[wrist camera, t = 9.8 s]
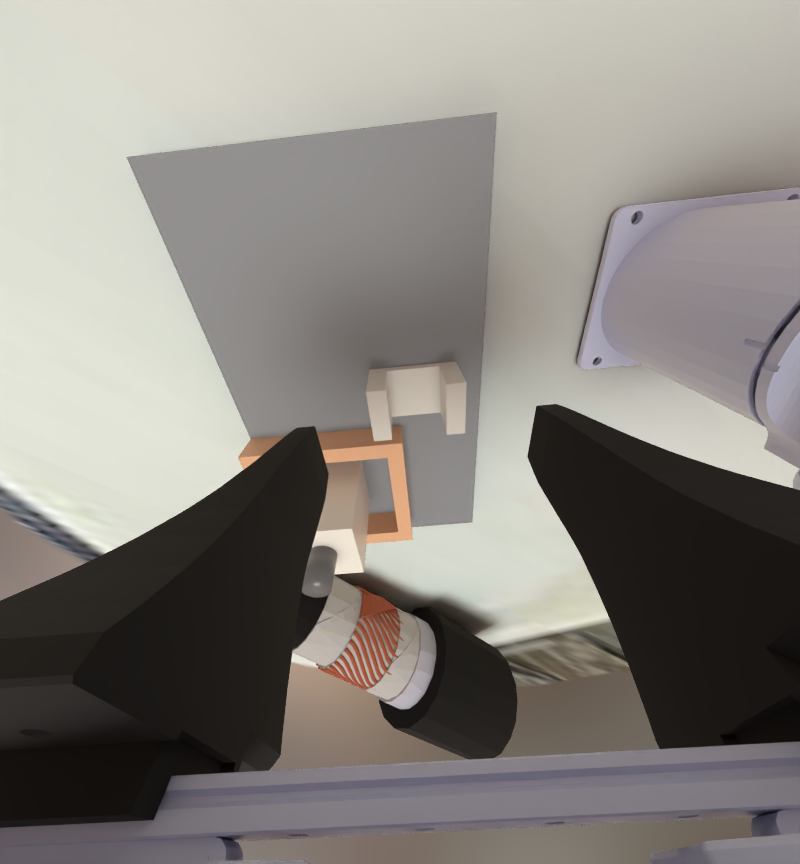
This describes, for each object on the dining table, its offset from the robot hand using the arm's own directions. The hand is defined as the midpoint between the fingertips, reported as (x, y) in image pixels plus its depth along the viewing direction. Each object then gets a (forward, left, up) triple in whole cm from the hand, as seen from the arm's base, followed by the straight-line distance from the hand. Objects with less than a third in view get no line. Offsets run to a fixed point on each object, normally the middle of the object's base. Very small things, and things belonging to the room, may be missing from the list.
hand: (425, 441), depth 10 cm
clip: (0, +2, -9) cm, 10 cm away
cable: (+7, +25, -10) cm, 28 cm away
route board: (+4, +3, -9) cm, 10 cm away
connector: (+6, +9, -8) cm, 14 cm away
